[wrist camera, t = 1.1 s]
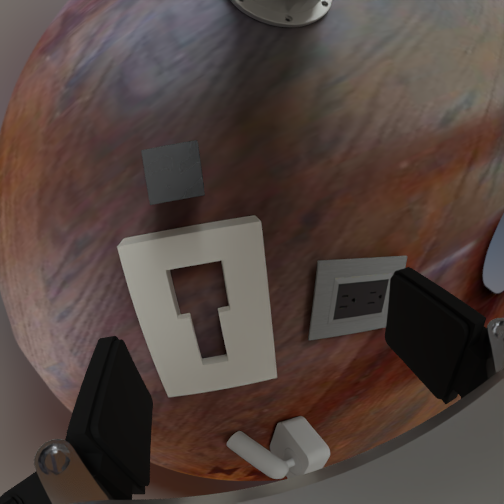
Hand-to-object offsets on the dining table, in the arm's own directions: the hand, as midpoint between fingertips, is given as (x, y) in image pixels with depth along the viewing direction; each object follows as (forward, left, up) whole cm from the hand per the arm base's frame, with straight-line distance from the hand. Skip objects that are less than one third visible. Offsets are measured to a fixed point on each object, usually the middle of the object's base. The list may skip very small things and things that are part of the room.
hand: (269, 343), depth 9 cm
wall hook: (+37, +2, -23) cm, 43 cm away
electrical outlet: (+13, +16, -23) cm, 31 cm away
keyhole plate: (+11, -3, -22) cm, 25 cm away
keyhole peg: (-5, -3, -22) cm, 23 cm away
